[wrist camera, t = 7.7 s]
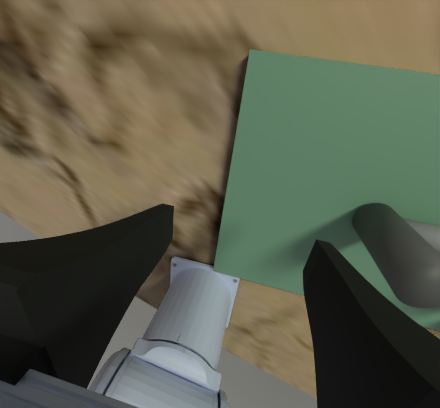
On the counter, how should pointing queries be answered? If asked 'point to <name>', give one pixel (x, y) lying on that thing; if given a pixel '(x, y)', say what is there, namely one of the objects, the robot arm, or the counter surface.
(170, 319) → the robot arm
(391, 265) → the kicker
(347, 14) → the counter surface
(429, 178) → the board
